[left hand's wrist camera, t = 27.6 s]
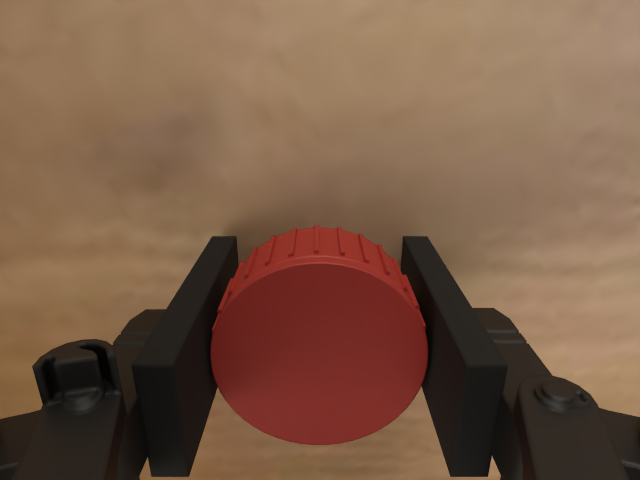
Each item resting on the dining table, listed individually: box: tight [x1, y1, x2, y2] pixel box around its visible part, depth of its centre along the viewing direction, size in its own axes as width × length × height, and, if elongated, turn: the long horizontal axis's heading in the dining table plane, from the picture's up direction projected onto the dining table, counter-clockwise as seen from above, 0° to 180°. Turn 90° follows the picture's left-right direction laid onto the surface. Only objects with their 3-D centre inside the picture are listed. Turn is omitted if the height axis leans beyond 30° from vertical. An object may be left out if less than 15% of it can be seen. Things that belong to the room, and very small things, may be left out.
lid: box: [210, 225, 428, 445], centre depth 12 cm, size 5×5×2 cm
